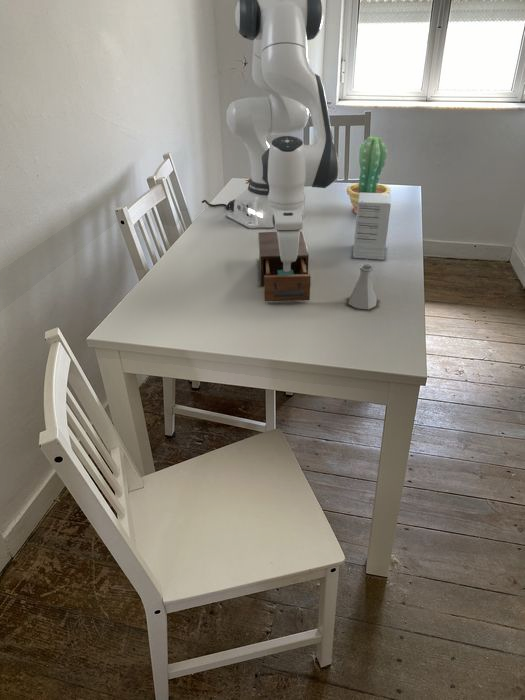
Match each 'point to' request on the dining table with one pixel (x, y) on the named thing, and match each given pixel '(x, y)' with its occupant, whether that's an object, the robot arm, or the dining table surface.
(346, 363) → the dining table surface
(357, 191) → the potted cactus
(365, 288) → the flask
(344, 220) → the dining table surface
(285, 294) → the drawer
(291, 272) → the block
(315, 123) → the robot arm
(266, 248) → the cabinet
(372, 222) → the supplement box
